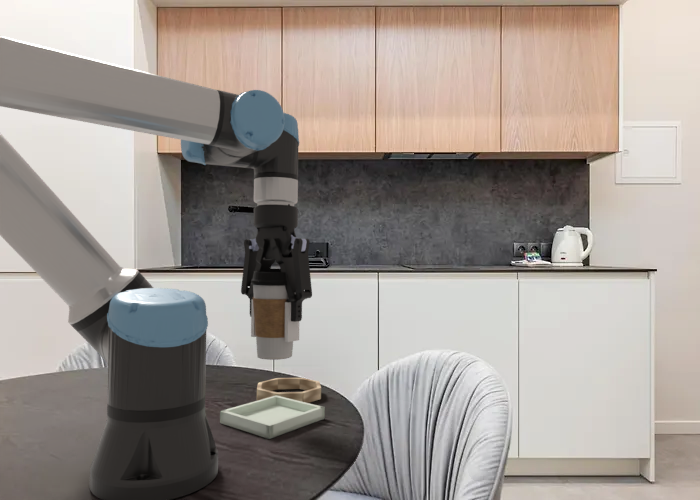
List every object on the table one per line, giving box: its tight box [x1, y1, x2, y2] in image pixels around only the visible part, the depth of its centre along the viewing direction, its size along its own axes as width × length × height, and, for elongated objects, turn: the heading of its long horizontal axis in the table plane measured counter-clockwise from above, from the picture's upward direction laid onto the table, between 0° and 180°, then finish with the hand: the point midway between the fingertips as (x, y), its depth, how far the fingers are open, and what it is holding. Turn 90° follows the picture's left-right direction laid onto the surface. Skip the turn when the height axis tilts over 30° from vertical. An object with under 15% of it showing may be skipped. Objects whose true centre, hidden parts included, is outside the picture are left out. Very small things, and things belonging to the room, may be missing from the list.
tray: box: [219, 395, 326, 440], centre depth 88 cm, size 13×12×2 cm
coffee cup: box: [251, 267, 296, 361], centre depth 88 cm, size 8×8×15 cm
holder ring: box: [256, 377, 322, 404], centre depth 104 cm, size 13×13×2 cm
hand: (274, 338), depth 88 cm, fingers closed on coffee cup, 7 cm apart
